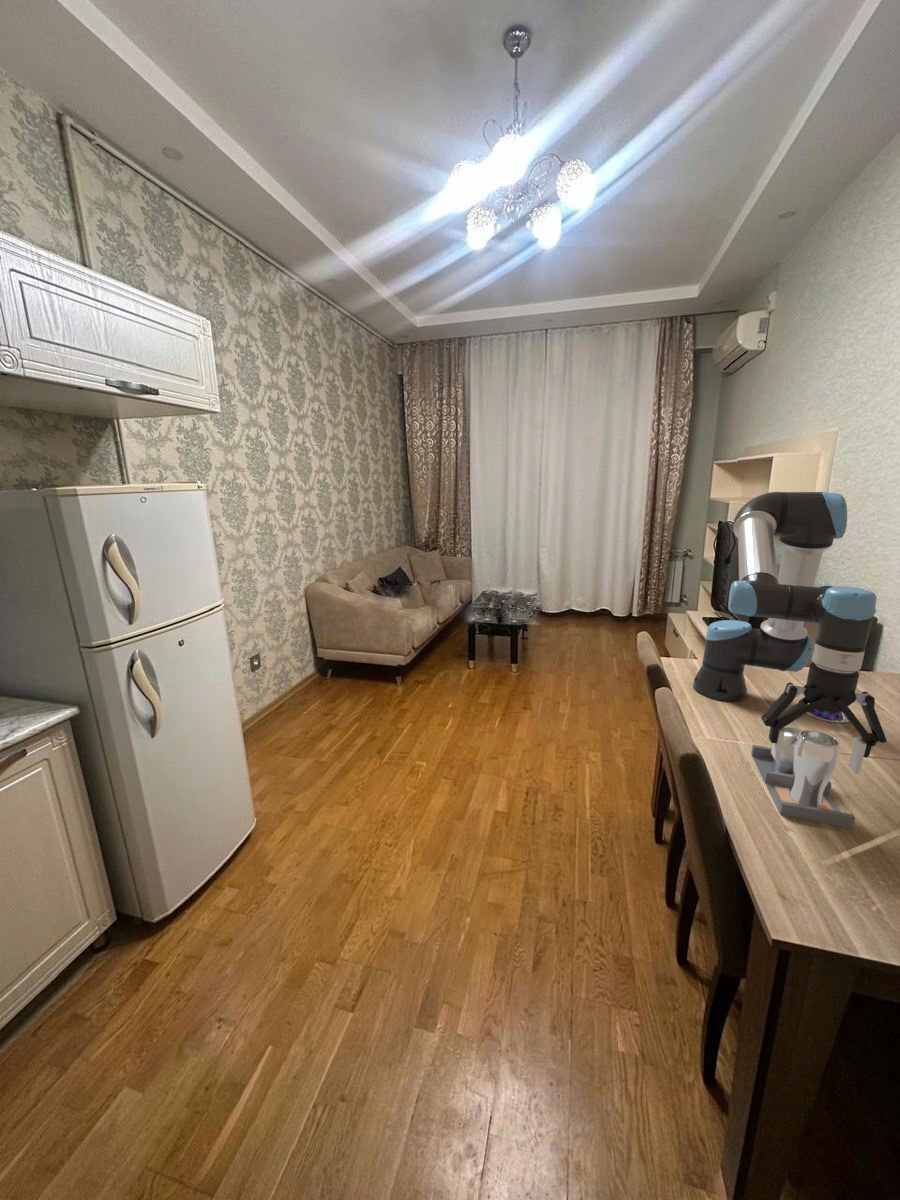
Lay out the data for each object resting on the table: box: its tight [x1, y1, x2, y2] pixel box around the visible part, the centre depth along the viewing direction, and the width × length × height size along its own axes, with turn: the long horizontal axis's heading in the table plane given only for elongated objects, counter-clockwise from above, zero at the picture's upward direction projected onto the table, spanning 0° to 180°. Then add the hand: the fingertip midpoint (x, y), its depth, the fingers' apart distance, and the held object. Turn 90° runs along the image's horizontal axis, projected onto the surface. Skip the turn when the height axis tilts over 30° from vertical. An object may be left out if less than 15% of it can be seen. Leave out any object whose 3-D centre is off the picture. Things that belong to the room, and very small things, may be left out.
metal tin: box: [772, 726, 802, 775], centre depth 107 cm, size 6×6×10 cm
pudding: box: [806, 703, 850, 723], centre depth 137 cm, size 12×12×5 cm
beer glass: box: [787, 729, 841, 808], centre depth 96 cm, size 7×7×15 cm
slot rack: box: [750, 744, 856, 830], centre depth 103 cm, size 23×12×3 cm, turn 161°
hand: (813, 763), depth 96 cm, fingers open, 13 cm apart
